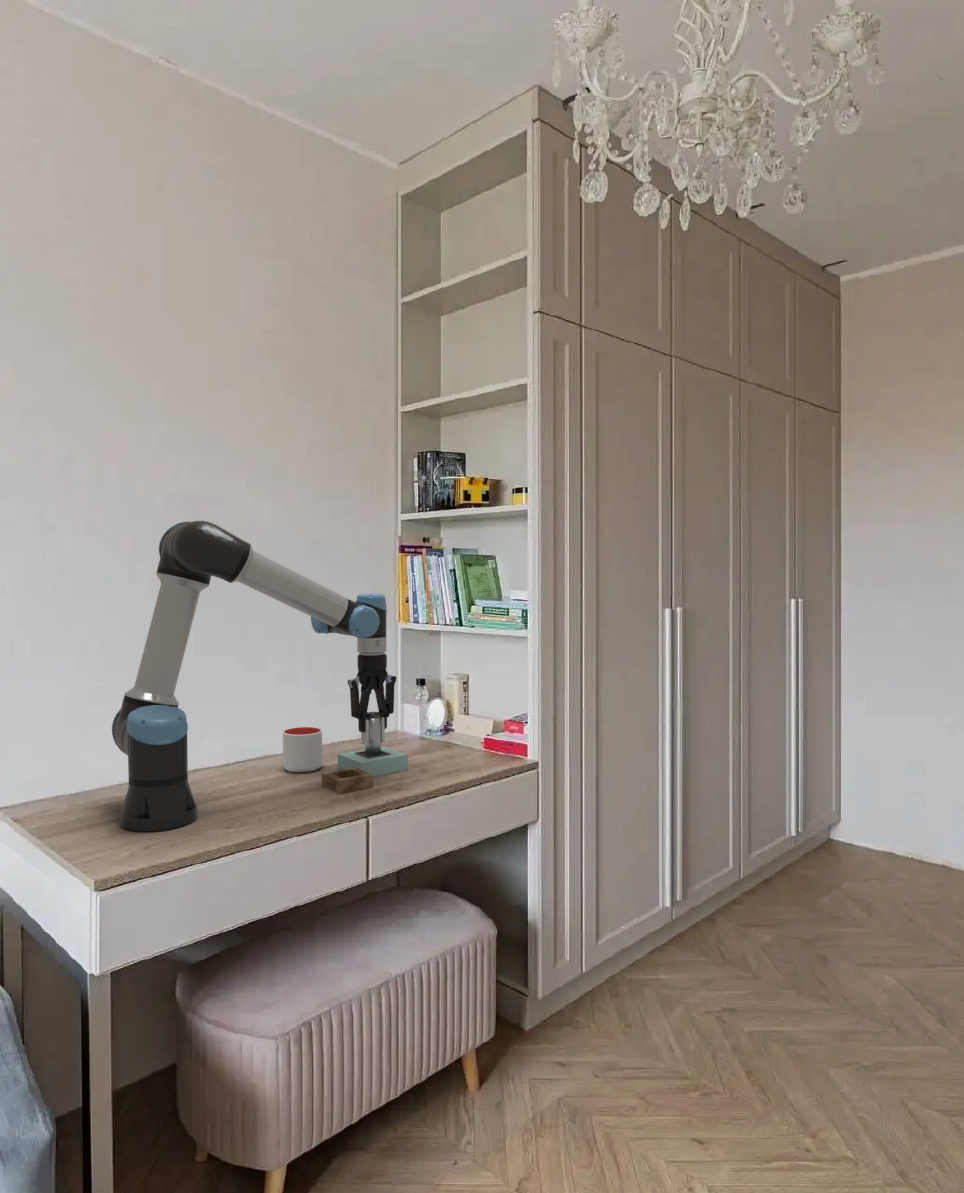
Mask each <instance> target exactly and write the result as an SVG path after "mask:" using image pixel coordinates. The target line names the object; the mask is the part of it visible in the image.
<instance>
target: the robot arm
mask: <svg viewBox="0 0 964 1193" xmlns="http://www.w3.org/2000/svg"><path fill="white" fill-rule="evenodd" d="M158 553H159V554H158V555H159V562H158V565H157V570H156V573H155V575H156V576H157V578H158V580H159V582H160V585H159V586H160V587H159V590H158V594H157V597H156V601H155V606H154V610H153V614H152V616H151V621H150V625H149V629H148V633H147V636H146V640H145V644H144V647H143V652H142V654H141V655H142V656H141V659H140V663H139V668H138V671H137V675H136V678H135V684H134V686H133V687H132V688H131V689H129V690H128V691H126V692H125V693H124V695H123V699H122V703H121V707H120V709H119V710H118V711H117V713H116V714H115V716H114V717H113V720H112V723H111V736H112V738H113V742H114V744H115V745H116V747H117V748H118V749H119V750H120V751H121V752H122V753H123V754H125V755H126V756H127V763H128V765H127V766H128V767H127V771H128V772H127V773H128V774H127V775H128V788H127V791H126V794H125V798H124V801H123V804H122V808H121V811H120V813H119V820H120V827H121V828H122V829H124V830H129V831H132V832H159V831H167V830H171V829H172V830H173V829H176V828H181V827H183V826H186V825H189V824H190V823H193V822H195V821H196V819H197V818H198V806H197V803H196V800H195V797H194V795H193V794H194V793H193V792H192V789H191V786H190V784H189V783H190V782H189V774H188V773H189V771H188V770H189V769H188V768H189V767H188V766H189V765H188V729H189V724H188V722H187V721H188V720H187V715H186V713H185V712H184V710H182V709H181V708H180V707H179V704H180V702H179V700H178V699H177V698H176V696H175V692H176V687H177V684H178V679H179V675H180V672H181V668H182V664H183V660H184V656H185V653H186V649H187V646H188V641H189V637H190V633H191V629H192V625H193V620H194V619H195V618H194V616H195V613H196V609H197V606H198V603H199V602H198V601H199V598H200V595H201V594H200V593H201V592H202V591H203V590H206V589H207V588H209V586H210V583H211V579H212V577H215V578H219V579H221V580H223V581H226V582H227V583H229V584H233V583H236V582H239V583H241V584H242V585H244V586H247V587H249V588H251V589H253V590H255V591H257V592H259V593H261V594H264V595H265V596H268V597H269V598H271V599H274V600H276V601H278V602H280V603H282V604H285V605H287V606H289V607H291V608H293V609H295V610H297V611H299V612H302V613H303V614H305V615H308V616H309V617H310V622H311V627H312V629H313V631H314V632H315V633H316V634H325V635H328V634H339V635H344V636H349V637H350V636H351V637H355V638H356V639H357V642H356V643H357V644H356V645H357V647H356V651H357V653H358V655H357V669H358V670H357V671H358V672H357V674H356V677H355V678H353V679H348V680H347V685H348V687H349V692H350V693H349V694H350V696H349V698H350V715H351V717H352V718H354V719H355V718H356V719H357V720H358V722H357V723H358V732H360V735H361V736H360V738H361V739H360V741H361V742H360V743H361V744H362V745H364V746H365V745H369V720H368V719H366V716H367V712H368V708H369V705H370V704H369V702H370V696H371V694H372V690H373V691H374V693H375V698H376V705H377V709H378V712H380V713H381V744H382V743H383V744H384V743H385V742H386V739H385V737H386V736H385V735H386V734H385V730H387V728H388V718H389V717H390V714H391V715H392V714H394V712H395V711H394V710H395V707H394V706H395V685H396V681H397V676H395V675H391V674H389V673H388V671H387V667H388V661H387V660H388V658H387V657H388V656H387V654H386V652H387V612H388V611H387V600H386V596H385V595H384V594H383V593H360V594H358V595H357V596H356V599H355V601H353V600H351V599H349V598H347V597H346V596H344V595H342V594H340V593H337V592H335V591H333V590H332V589H330V588H328V587H325V586H324V585H322V584H321V583H320V584H319V583H317V582H316V581H314V580H312V579H310V578H308V577H306V576H304V575H302V574H300V573H298V572H296V571H295V570H292V569H290V568H288V567H286V566H285V565H283V564H280V563H278V562H276V561H274V560H273V559H271V558H268V557H266V556H264V555H262V554H260V553H259V552H257V551H255V550H254V549H253V547H252V544H251V543H249V542H247V541H245V540H244V539H242V538H240V537H238V536H236V535H234V534H233V533H231V532H229V531H227V530H226V529H224V528H223V527H221V526H219V525H217V524H215V523H213V522H210V521H207V520H206V521H205V520H193V521H182V522H178V523H176V524H173V525H172V526H171V527H169V528H168V529H167V530H165V532H164V533H163V534H162V536H161V538H160V540H159V545H158ZM384 684H385V687H384ZM360 685H361V686H360ZM359 686H360V689H359Z"/></svg>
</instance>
